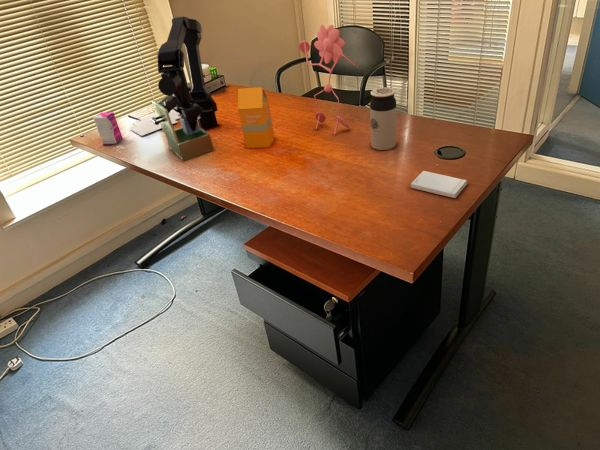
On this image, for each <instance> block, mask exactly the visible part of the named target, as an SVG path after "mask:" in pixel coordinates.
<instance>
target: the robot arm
mask: <svg viewBox="0 0 600 450" xmlns="http://www.w3.org/2000/svg"><path fill="white" fill-rule="evenodd" d="M202 31H203V29H202V24H201V22H200V21H198V20H197V19H194V18H190V17H189V18H188V17H187V16H177V17H173V18H172V19H171V27H170V30H169V33H168V37H167V40H166V41H165V42H164V43H161V45H160V47H159V48H158V52H157V72H158V74H160V75H161V76H160V77H161V79H159V81H158V90H159V91H160V93H162V95H164V96H165V97H164V98H163V99H162V100H160V101H159V102H157V103H158V104H160V105H161V106H163V107H164V108H165V109H167V111H168V113H170V111H171V110H174V111H176V112H178V113H179V114H180V115H179V116H180V117H181V116H183V117H184V118H186V119H187V121H188V123H189V125H190V128H191V130H192V131H195V129H196V124H197V122H198V125H199V127H200V128H202V129H203V130H204V131H209V130H210V129H214V128H217V127H220V124H219V123H218V120H217V115H216V112H218V105H217V102H216V101H215V99H214V98H213V97H212V93H211V91H210V90H209V89H208V87H207V86H206V83H205V78H204V77H205V76H204V70H203V65H202V58H201V53H200V52H201V51H200V47H199V46H200V43H201V40H202ZM183 45H184V46H185V50H186V55H187V63H188V67H189V68H188V69H189V73H190V79H191V84H192V85H191V86H192V88H191V87H190V86H189V84H188V81H187V76H186V73H185V70H184V68H185V53H184V51H183V49H182V48H183Z"/></svg>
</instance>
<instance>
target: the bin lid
mask: <svg viewBox="0 0 600 450" xmlns="http://www.w3.org/2000/svg"><path fill="white" fill-rule="evenodd" d="M151 103H152V105H153V108H154V110H155V112H156V113H157V116H158V117H156V118H153V117H152V118H151V121H152V122H153V123H154V124H155V125H159V123H160V124H161V126H162V128H161V130H162V132H163V133H164V134H165V136H166V135H167V136H169V137H170V138H171V139H172V140H173V141H174V142H175V143H177V144H178V143H179V141H178V138H177V136H176V133H175V130H176V129H175V127H174V124H172V122H171V119H170V116H169V114H168V111H167V109H165V108H164V107H163V106H161V105H160V104H158V103H159V102H158V101H156V100H155V99H153V100H151ZM158 119H159V121H157V120H158Z"/></svg>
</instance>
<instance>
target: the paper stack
mask: <svg viewBox="0 0 600 450" xmlns="http://www.w3.org/2000/svg"><path fill="white" fill-rule="evenodd" d="M168 114H169V116H170V119H171V122H172V125H174V124H177V123H178V122H179V121H178V120H180V117H181V115H180V114H179V113H178V112H176V111H174V110H171V111H170V113H168ZM152 117H153V118H156V117H158V116H157V113H156V111H155V112H151V113H149V114H147V115H143V116H140V117H138V118H137V119H138V120H139V121H136V122H132V124H133V125H132V126H130V127H128V129H129V130H130V131H132V132H133V133H135V134H138V135H139V136H141V137H142V136H144V135H147V134H150V133H152V132H155V131H158V130H160V129H161V130H162V126H161V124H160V123H159V125H155V124H154V123H153V122H152V121H151V118H152ZM157 121H159V119H158V120H157Z"/></svg>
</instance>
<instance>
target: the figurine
mask: <svg viewBox="0 0 600 450" xmlns="http://www.w3.org/2000/svg"><path fill="white" fill-rule="evenodd" d="M340 35H341V32H340V30H339V29H337V28H335V26H334V25H333V24H330V25H329V26H327V28H326V26H325V25H324V24H321V25H320V26H319V31H317V32H316V38H317V40H315V41H314V43H313V45H314V48H316V49H317V50H318V51H319V52H318V55H319V57H321V58H320V61H319V63H309V58H308V52H309V51H310V49H311V45H310V43H309V42H308V41H307V40H305V39H304V40H302V41H300V43H299V45H298V48H299V50H300V51H301V52H302V53H303V54H305V59H306V60H305V61H306V64H307V66H318V67H321V68H323V69H324V70H325V71H327V72H329V74H328V75H329V76H328V81H327V84H326V85H324V88H323V90H321V91H319V92H317V93H315V94H314V95H313V98H314V101H315V104H316V107H317V110H318V112H316V113H315V119H316V121H317V122H316V125H315V130H318V128H319V123H321V124H323V123H324V122H325V121H326V119H327V116H326V114H325V113H324V112H322V111H321V110H320V108H319V104H318V101H317V98H316V96H318V95H320V94H321V93H323V92H326V93H331V92H332V93H333V95H334V96H335V97H336V100H337V111H338V112H337V113H338V115H331V116H328V118H331V117H332V118H333V117H335V119H336V125H335V128H334V133H333V135H336V134H337V131H338V126H339V123H340V124H341V125H342V126H344V127H345V128H347V129H348V130H350V128H351V127H350V126H349V124H348V123H347V122H346V121H345V120H344V119H343V118H345V115H344V116H343V115H340V99H339V97H338V96H337V94H336V93H335V91H334V90H333V85H331V84H330V82H331V76H332V73H333V71H334V68H335V67H336V65H337V64H338V63H339V60H340V58H342V57H344V58H345V59H346V60H347V61H348V62H350V63H351V64H352V65H353V66H354V67H356V68H359V66H358V65H357V64H355V63H354V62H353V61H352V60H351V59H350V58H348V57H347V56H346V55H344V52H343V49H342V48H343V47H344V46H345V45H346V42H345V41H344V39H343V38H341V37H340ZM323 61H324V63H325V64H326V65H327V64H329V63H331V61H332V62H333V63H334V64H333V65H332V66H331V68H330V67H327V66H326V65H323V64H322V63H323ZM346 118H347V119H352V120H354V121H356V122H358V120H357V119H355V118H353V117H350V116H346ZM348 138H350V136H347V137H346V139H348Z"/></svg>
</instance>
